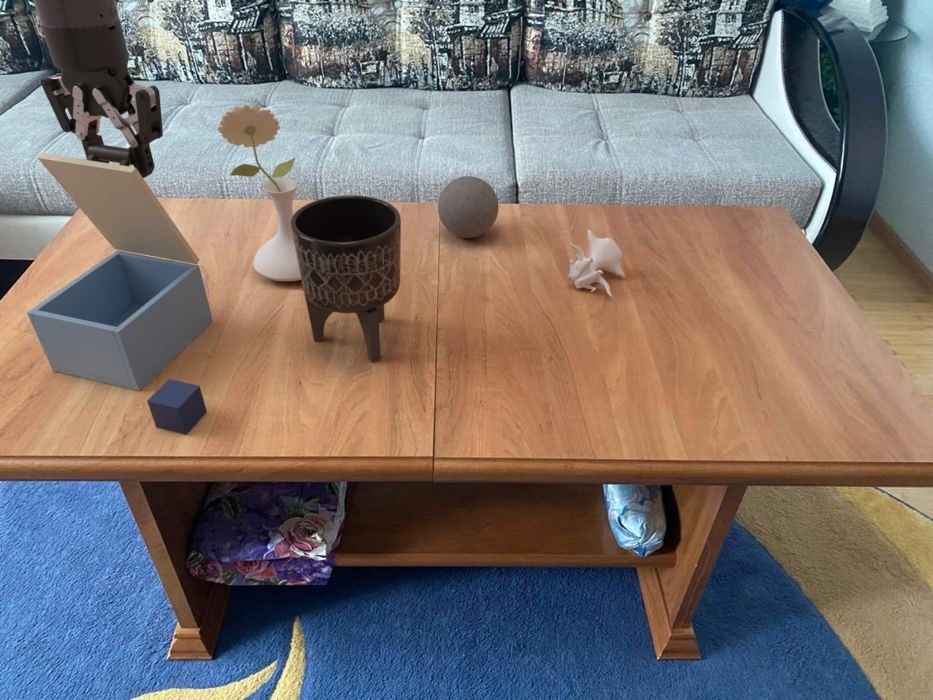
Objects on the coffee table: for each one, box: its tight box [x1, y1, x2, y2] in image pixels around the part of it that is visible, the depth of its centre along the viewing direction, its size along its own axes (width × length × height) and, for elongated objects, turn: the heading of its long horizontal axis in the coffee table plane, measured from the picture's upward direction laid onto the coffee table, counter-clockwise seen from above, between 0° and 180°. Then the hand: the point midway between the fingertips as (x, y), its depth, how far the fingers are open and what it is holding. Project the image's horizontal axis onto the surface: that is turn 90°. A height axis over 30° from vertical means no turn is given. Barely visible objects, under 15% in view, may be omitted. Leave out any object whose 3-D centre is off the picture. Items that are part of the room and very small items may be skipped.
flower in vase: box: [217, 104, 302, 282], centre depth 98 cm, size 13×11×25 cm
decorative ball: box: [437, 175, 499, 239], centre depth 113 cm, size 10×10×10 cm
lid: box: [37, 143, 200, 265], centre depth 84 cm, size 16×13×5 cm
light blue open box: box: [26, 250, 214, 392], centre depth 87 cm, size 16×13×9 cm
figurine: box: [567, 229, 626, 298], centre depth 103 cm, size 10×8×10 cm
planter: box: [290, 194, 402, 363], centre depth 86 cm, size 13×13×18 cm
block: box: [146, 378, 208, 436], centre depth 77 cm, size 4×4×4 cm
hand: (123, 171), depth 82 cm, fingers closed on lid, 5 cm apart
